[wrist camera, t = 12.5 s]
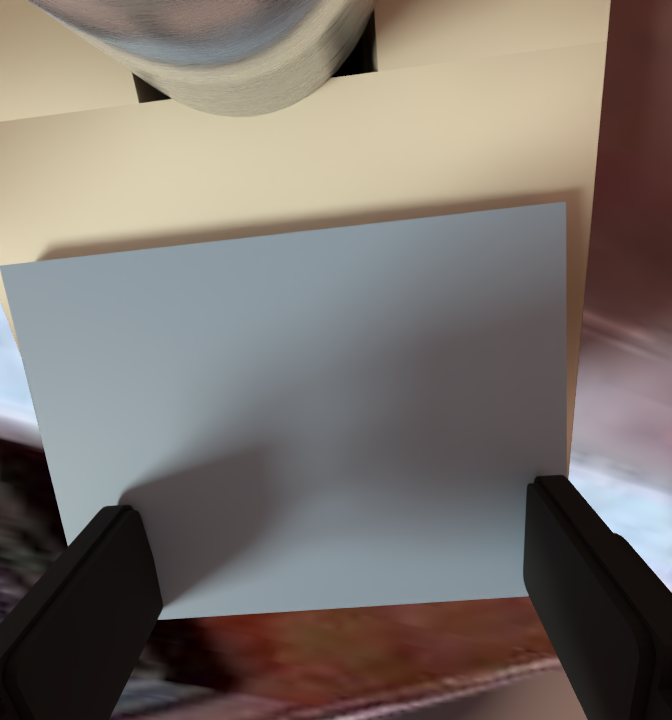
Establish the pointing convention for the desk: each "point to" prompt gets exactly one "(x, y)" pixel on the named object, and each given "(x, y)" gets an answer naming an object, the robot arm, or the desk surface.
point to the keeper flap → (309, 405)
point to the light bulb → (222, 46)
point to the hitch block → (309, 138)
